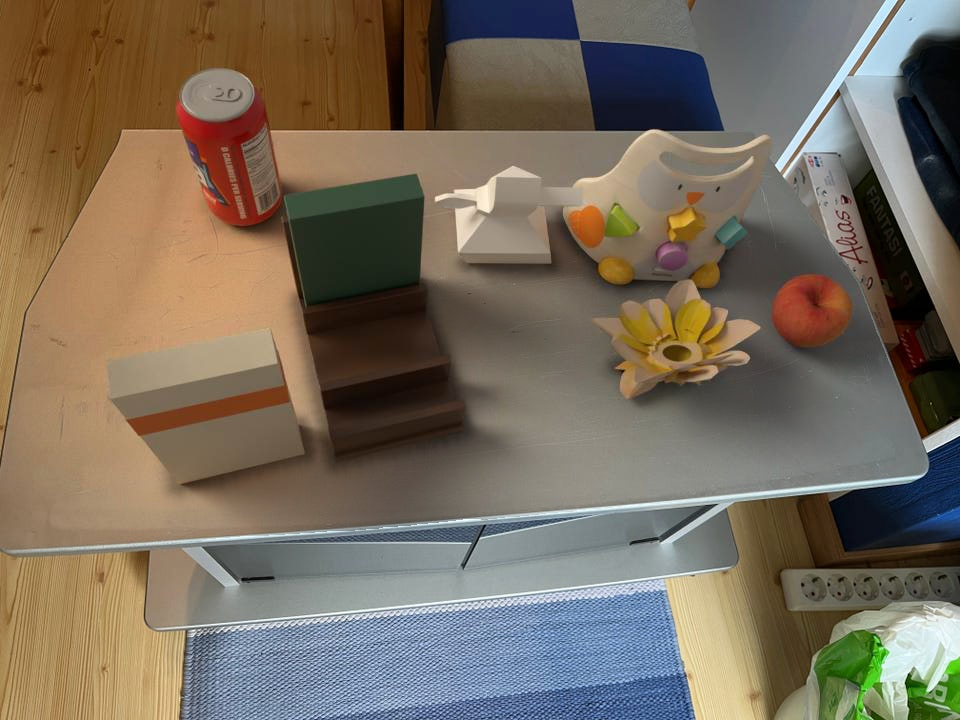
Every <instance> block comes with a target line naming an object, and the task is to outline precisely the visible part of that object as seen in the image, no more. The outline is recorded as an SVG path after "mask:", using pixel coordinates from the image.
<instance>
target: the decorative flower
mask: <svg viewBox="0 0 960 720" xmlns="http://www.w3.org/2000/svg"><path fill="white" fill-rule="evenodd" d="M728 314H729V310H728V309H726V308H722V307H718V306H716V307H712V308H711V303H709V302H708V301H706V300H705V299H703V298H701V295H700V293H699V291H698V287H696V286H695V284H694V282H693V280H689V279H687V280H681V281H676V283H675V284H673V285H672V287H671V288H670V289H669V291H668V293H667V294H666V296H665V300H664V301H663V300H662V299H661V298H650V299H648V300H646V301H644V302H643V303H642V304H641V303H639V302H636V301H634V300H630V299H629V300H627V301H625V302H623V303H621V305H620V307H619V309H618V317H594V318H593V317H592V318H591V319H590V320H591V322H592V323H593V324H594V325H596V326H597V327H598V328H599V329H601V330H602V331H603V332H604V333H606V334H607V335H609V336H611V337H612V338H611V341H610V343H611V345H612V347H613V348H614V350H615V352H617V354H618V355H619V356H620V357H622V359H624V360H625V361H622V362H621V363H620V364H619V365H617V366H615V367H614V369H615V370H623V371H624V372H623V373H622V374H621V378H620V381H619V391H620V392H621V394H622V395H623V397H624V398H625V399H627V400H630V399H632V398H635V397H637V396H640V395H642V394H644V393H646V392H649V391H650V390H651V391H652V390H653V388H655V387H656V386H657V384H658V383H659V382H663V381H664V384H667V383H678V385H679V386H680V387H682V386H683V385H684V384H686V382H687V383H694V384H696V385H698V386H701V383H702V382H703V381H707V382H712V380H711V379H712V378H713V377H715V376H716V375H717V374H718V373H720V372H721V373H722V372H723V371H725V370H726V369H727V368H728V366H735V367H737V366H742V365H746V364H748V362H749V361H750V360H751V357H750V355H749V354H748V353H747V352H744V351H742V350H730V349H731V348H733V347H735V346H736V345H738V344H739V343H741V342H743V341H745V340H746V339H747V338H749V337H751V336H752V335H754V334H755V333H757V332H758V331H759V330H760V329H761V326H760V325H759V324H757V323H755V322H753V321H751V320H749V319H741V318H738V319H732V320H728V321H726V319H727V317H728Z"/></svg>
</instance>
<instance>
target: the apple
mask: <svg viewBox="0 0 960 720" xmlns="http://www.w3.org/2000/svg"><path fill="white" fill-rule="evenodd" d="M853 310H854V309H853V303H852V299H851V298H850V295H849V293H848V292H847V291H846V290H845V288H844V287H843V286H841V284H839V283H838V282H837V281H836V280H834V279H833V278H831V277H828V276H826V275H822V274H817V273H807V274H806V273H805V274H801V275H798V276H795V277H793V278H791V279H790V280H788V281H787V282H786V283H785V284H783V285H782V287H781V288H780V289H779V290H778V291H777V294H776V295H775V297H774V300H773V303H772V309H771V318H772V319H771V320H772V324H773V327H774V329H775V331H776V332H777V333H778V335H779V336H780V337H781V338H782V339H783V340H784V341H786V342H787V343H788V344H790V345H793V346H796V347H800V348H814V347H819V346H824V345H826V344H829V343H831V342H832V341H834V340H835V339H837V338H838V337H840V336H841V335H842V334H843V333H844V332H845V330H846V329H847V327H849V324H850V322H851V320H852V317H853Z"/></svg>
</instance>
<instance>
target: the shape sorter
mask: <svg viewBox="0 0 960 720" xmlns="http://www.w3.org/2000/svg"><path fill="white" fill-rule="evenodd" d="M773 145H774V139H773V138H772V137H770V136H769V135H767V134H763V135H760V136H759V137H756V138H755V139H753V140H751V141H749V142H748V143H746V144H743V145H739V146H735V147H734V146H733V147H705V146H700V145H695V144H691V143H689V142H687V141H684V140H681V139H680V138H677V137H676V136H675V135H672V134H670V133H668V132H666V131H664V130H661V129H655V128H654V129H649V130H646V131H645V132H644V133H642V134H641V135H640V136H639V137H637V138H636V139H635V140H634V141H633V142H632V143H631V144H630V146H629V147H628V148H627V150H626V151H625V152H624V153H623V155H622V157H621V158H620V160H619V162H618V163H617V165H615V166H614V168H612V169H611V170H610V171H609V172H607V173H605V174H603V175H601V176H598V177H597V176H596V177H595V176H594V177H583V178H580V179H578V180H576V182H575V183H574V184H573V185H572V187H571V188H583V202H582V206H573V207H571V206H563V209H562V216H563V220H564V222H565V225H566V227H567V229H568V231H569V232H570V234H571V236H572V238H573V239H574V241H575V242H576V243H577V244H578V246H579V247H580V248H581V249H582V251H584V253H585V254H587V255H588V257H589V258H591V259H592V260H593V261H594V262H596V263H597V264H598V266H597V271H598V272H599V275H600V276H601V278H602V279H603V280H605V281H607V282H608V283H611V284H613V285H620V286H621V285H625V284H630V283H631V282H632V281H633V280H638V281H639V280H640V281H663V282H664V281H665V282H678V281H681V280H687V279H689V280H693V282H694V284H695V286H696V288H699V289H708V288H709V289H710V288H712V287H714V286H716V285H717V284H718V283H719V281H720V276H721V273H720V269H719V266H718V263H719V262H720V261H721V259H722V257H723V256H724V254H725V252H726V251H727V250H730V249H731V248H732V247H734V246H735V245H736V244H737V243H738V242H739V241H740V240H742V239H743V238H745V236H746V235H747V234H748V232H747V230H746V229H745V228H744V227H743V225H742V224H741V221H742V219H743V217H744V215H745V214H746V211H747V209H748V207H749V205H750V203H751V201H752V199H753V197H754V195H755V193H756V191H757V189H758V187H759V184H760V182H761V180H762V176H763V174H764V171H765V169H766V167H767V164H768V161H769V159H770V156H771V152H772V150H773ZM665 153H669V154H672V155H674V156H675V157H676V158H678V159H681V160H683V161H685V162H690V163H693V164H697V165H698V164H699V165H700V164H701V165H706V166H723V165H733V164H737V163H740V162H743V161H746V160H747V161H746V162H745V163H743V164H742V165H741V166H739V167H737V168H735V169H734V170H733V171H729V172H726V173H722V174H716V175H703V176H702V175H693V174H688V173H685V172H682V171H679V170H677V169H675V168H673V167H672V166H670V165H669V164H668V163H667V162H666V161H665V160H664V158H662V157H661V156H662V155H663V154H665Z"/></svg>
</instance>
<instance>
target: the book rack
mask: <svg viewBox="0 0 960 720" xmlns="http://www.w3.org/2000/svg"><path fill="white" fill-rule="evenodd" d="M280 218H281V219H280V220H281V223H282V229H283V233H284V238H285V240H286V241H285V243H286V247H287V252H288V257H289V261H290V265H291V271H292V276H293V281H294V286H295V289H296V294H297V300H298V304H299V308H300V312H301V316H302V322H303V326H304V330H305V335H306V338H307V343H308V347H309V352H310V356H311V361H312V364H313V368H314V373H315V377H316V382H317V386H318V391H319V395H320V400H321V404H322V408H323V412H324V413H323V414H324V417H325V421H326V425H327V429H328V434H329V439H330V442H331V446H332V451H333V456H334V460H335V463H340V462H345V461H348V460H352V459H356V458H360V457H364V456H368V455H369V456H370V455H373V454H377V453H380V452H384V451H388V450H393V449H396V448H400V447H401V448H402V447H405V446H409V445H413V444H417V443H421V442H426V441H429V440H434V439H437V438H441V437H446V436H449V435H453V434H457V433H462V432H463V430H464V418H465V414H466V409H467V406H466V402H465V399H460V400H456V398H455V395H454V392H453V389H452V385H451V383H450V376H451V370H452V364H453V363H452V359H451V356H450V355H443V356H442V354H441V351H440V348H439V347H440V346H439V345H438V344H439V343H438V341H437V338H436V334H435V332H434V329H433V325H432V322H431V320H430V319H431V318H430V316H429V313H428V300H429V299H428V298H429V287H428V285H427V284H428V283H427V282H423V283H420V284H418V285H413V286H408V287H403V288H398V289H393V290H388V291H382V292H377V293H372V294H367V295H362V296H357V297H352V298H347V299H342V300H337V301H332V302H327V303H322V304H317V305H312V306H307V307H306V306H305V302H304V297H303V292H302V287H301V282H300V277H299V272H298V267H297V262H296V257H295V252H294V246H293V241H292V236H291V231H290V226H289V221H288V216H287V214H285V215H281V216H280Z"/></svg>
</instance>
